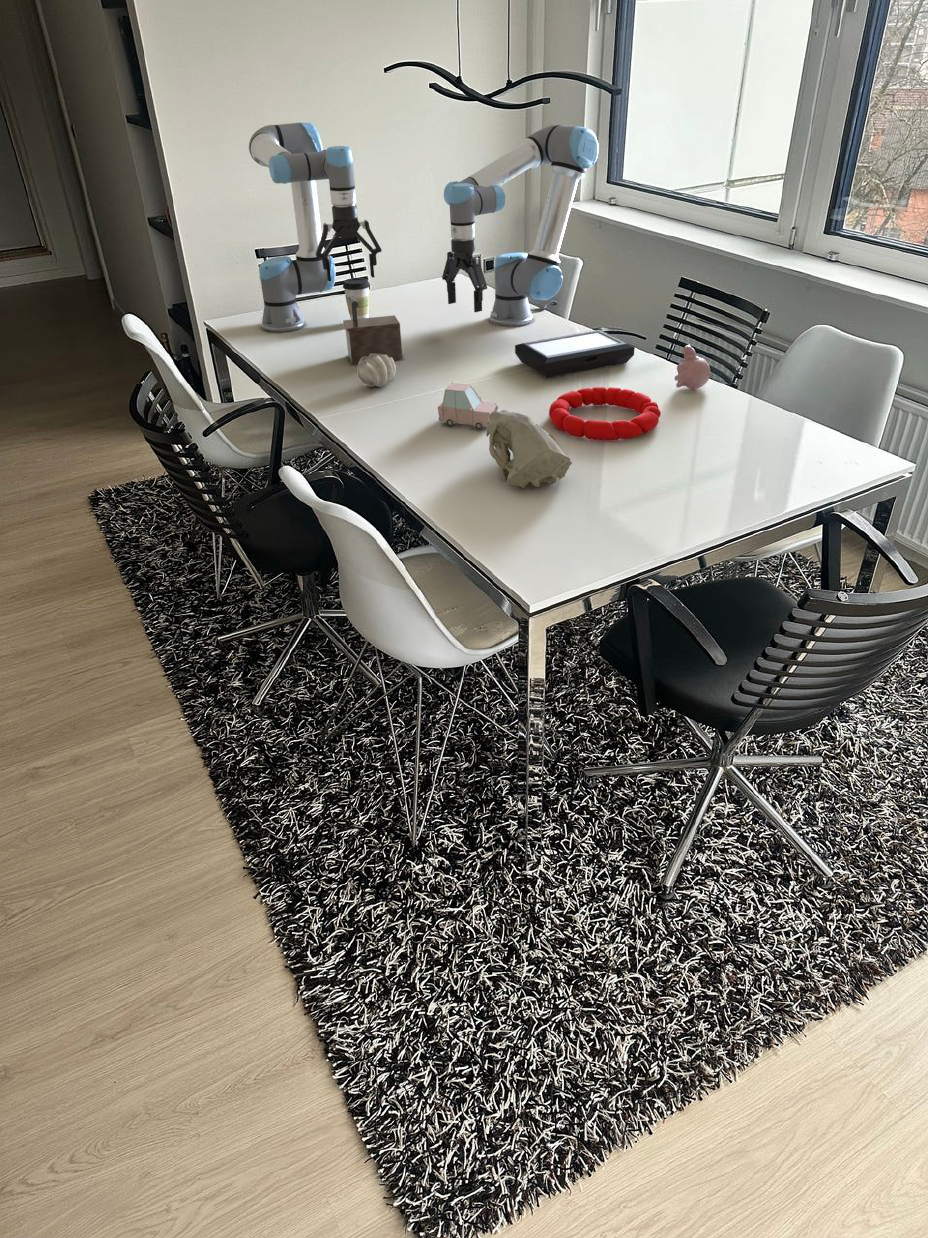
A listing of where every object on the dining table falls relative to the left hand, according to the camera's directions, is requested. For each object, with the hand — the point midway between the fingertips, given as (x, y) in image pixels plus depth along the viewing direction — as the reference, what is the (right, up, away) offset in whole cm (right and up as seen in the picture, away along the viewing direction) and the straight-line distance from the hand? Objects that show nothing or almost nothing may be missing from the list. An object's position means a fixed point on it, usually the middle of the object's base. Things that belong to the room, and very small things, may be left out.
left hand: (351, 278), depth 279 cm
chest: (+6, -20, +16) cm, 26 cm away
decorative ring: (+74, -53, -35) cm, 97 cm away
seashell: (+9, -36, -7) cm, 37 cm away
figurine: (+102, -39, -16) cm, 111 cm away
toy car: (+37, -53, -33) cm, 72 cm away
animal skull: (+49, -70, -59) cm, 104 cm away
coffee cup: (-3, +2, +48) cm, 48 cm away
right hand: (+36, -4, +13) cm, 38 cm away
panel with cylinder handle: (+5, -12, +9) cm, 16 cm away
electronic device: (+70, -25, +5) cm, 75 cm away
